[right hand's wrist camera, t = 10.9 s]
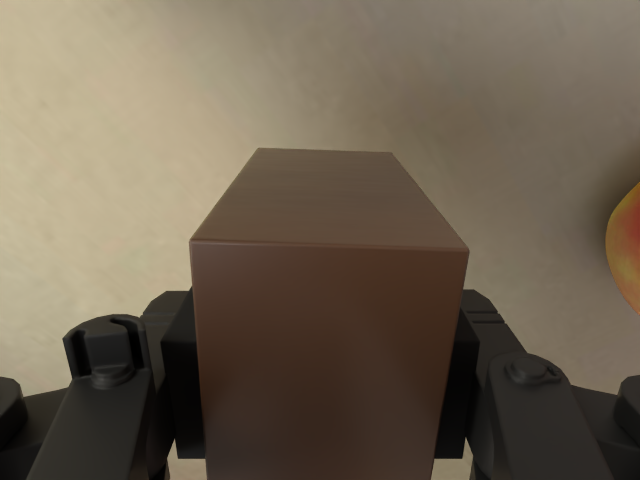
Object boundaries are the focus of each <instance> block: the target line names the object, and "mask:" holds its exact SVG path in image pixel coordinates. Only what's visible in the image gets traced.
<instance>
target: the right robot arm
mask: <svg viewBox="0 0 640 480" xmlns="http://www.w3.org/2000/svg"><path fill="white" fill-rule="evenodd" d="M63 343H64V347H65V351H66V355H67V359H68V363H69V367H70V371H71V375H72V381H71V383H70V385H69V387H67V388H64V389H60V390H56V391H51V392H46V393H41V394H36V395H31V396H27V397H23V394H22V391H21V387H20V384H18V383H17V382H16V381H15V380H14V379H11V378H5V377H0V480H170V474H169V467H168V461H167V457H168V454H169V452H170V449H171V447H172V444H173V441H174V439H175V442H176V449H177V455H178V459H205V446H204V433H203V419H202V406H201V393H200V380H199V367H198V354H197V341H196V328H195V314H194V301H193V288H192V287H191V288H190V290H189V291H166V292H164V293H163V294H161V295H160V296H158V297H157V298H155V299H154V300H152V301H151V302H150V304H149V305H148V307H147V308H146V309H145V311H144V312H143V315H141V317H140V318H139V317H136V316H132V315H128V314H112V315H107V316H102V317H97V318H94V319H91V320H89V321H86V322H83V323H81V324H80V325H78V326H76V327H75V328H73V329H71V330H70V331H69V332H68V333H67V334H66V335H65V336H64V338H63ZM465 438H467V441H468V443H469V446H470V449H471V451H472V454H473V461H472V467H471V473H470V479H469V480H640V375H636V376H630V377H627V378H626V379H625V380H624V381H623V382H621V385H620V389H619V392H618V395H614V394H609V393H604V392H599V391H594V390H589V389H585V388H581V387H577V386H573V385H571V384H570V382H569V380H568V378H567V377H566V376H565V374H564V373H563V372H562V370H561V369H560V368H558V367H557V366H555V365H554V364H553V363H551V362H550V361H548V360H546V359H543V358H541V357H539V356H536V355H533V354H529V353H527V352H526V351H525V349H524V348H523V346H522V345H521V343H520V342H519V341H518V339H517V338H516V336H515V335H514V334H513V332H512V331H511V329H510V328H509V327H508V325H507V324H505V321H504V320H503V318H502V317H501V315H500V314H498V311H497V310H496V308H495V307H494V306H493V304H492V303H491V301H490V300H489V299H488V298H486V297H484V296H483V295H481V294H480V293H478V292H477V291H475V290H463V292H462V298H461V304H460V310H459V316H458V322H457V328H456V334H455V340H454V346H453V351H452V357H451V363H450V369H449V375H448V381H447V387H446V393H445V399H444V405H443V410H442V416H441V422H440V428H439V434H438V440H437V446H436V452H435V458H434V459H462V457H463V451H464V444H465Z"/></svg>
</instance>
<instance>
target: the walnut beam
mask: <svg viewBox="0 0 640 480" xmlns="http://www.w3.org/2000/svg"><path fill="white" fill-rule="evenodd" d="M189 249H190V262H191V275H192V288H193V301H194V314H195V328H196V341H197V354H198V367H199V380H200V393H201V406H202V419H203V433H204V446H205V459H206V472H207V480H431V475H432V469H433V464H434V458H435V452H436V446H437V440H438V434H439V428H440V422H441V416H442V410H443V405H444V399H445V393H446V387H447V381H448V375H449V369H450V363H451V357H452V351H453V346H454V340H455V334H456V328H457V322H458V316H459V310H460V304H461V298H462V292H463V287H464V281H465V275H466V269H467V263H468V257H469V248H468V247H467V246H466V245H465V243H464V242H463V241H462V240H461V238H460V237H459V236H458V235H457V233H456V232H455V231H454V230H453V228H452V227H451V226H450V225H449V223H448V222H447V221H446V220H445V218H444V217H443V216H442V215H441V213H440V212H439V211H438V210H437V208H436V207H435V206H434V205H433V204H432V202H431V201H430V200H429V199H428V197H427V196H426V195H425V194H424V192H423V191H422V190H421V189H420V187H419V186H418V185H417V184H416V182H415V181H414V180H413V179H412V177H411V176H410V175H409V174H408V172H407V171H406V170H405V169H404V167H403V166H402V165H401V164H400V162H399V161H398V160H397V159H396V157H395V156H394V155H393V154H392V153H390V152H361V151H333V150H305V149H277V148H258V149H257V150H256V151H255V153H254V154H253V155H252V157H251V158H250V159H249V161H248V162H247V163H246V165H245V166H244V167H243V169H242V170H241V171H240V173H239V174H238V176H237V177H236V178H235V180H234V181H233V182H232V184H231V185H230V186H229V188H228V189H227V190H226V192H225V193H224V194H223V196H222V197H221V198H220V200H219V201H218V202H217V204H216V205H215V206H214V208H213V209H212V210H211V212H210V213H209V214H208V216H207V217H206V219H205V220H204V221H203V223H202V224H201V225H200V227H199V228H198V229H197V231H196V232H195V233H194V235H193V236H192V237H191V239H190V241H189Z"/></svg>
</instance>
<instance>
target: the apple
mask: <svg viewBox="0 0 640 480" xmlns="http://www.w3.org/2000/svg"><path fill="white" fill-rule="evenodd" d="M605 247H606V255H607V260H608V263H609V267H610V270H611V272H612V275H613V278H614V280H615V282H616V284H617V286H618V288H619V290H620V291H621V293H622V295H623V297H624V298H625V299H626V301H627V302H628V303H629V305H630V306H631V307H632V308H633V309H634V310H635V311H636V312H637V313H638V314H639V315H640V182H639V183H638V184H637V185H636V186H635V187H634V188H633V189H632V190H631V191H630V192H629V193H628V194H627V195H626V196H625V197H624V198H623V200H622V201H621V202H620V203H619V204H618V206H617V207H616V208H615V210H614V211H613V213H612V215H611V217H610V219H609V222H608V226H607V231H606V238H605Z"/></svg>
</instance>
